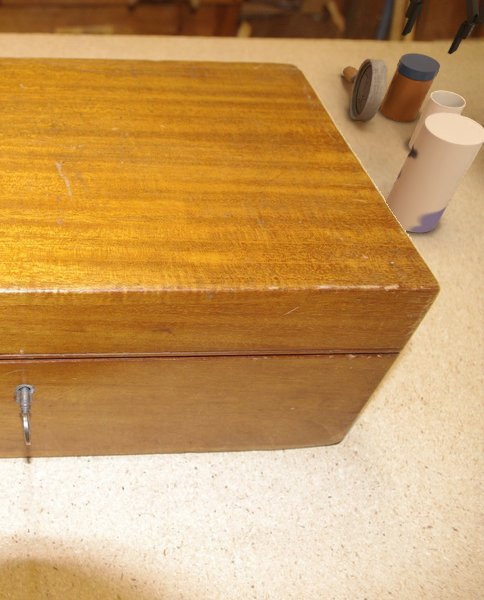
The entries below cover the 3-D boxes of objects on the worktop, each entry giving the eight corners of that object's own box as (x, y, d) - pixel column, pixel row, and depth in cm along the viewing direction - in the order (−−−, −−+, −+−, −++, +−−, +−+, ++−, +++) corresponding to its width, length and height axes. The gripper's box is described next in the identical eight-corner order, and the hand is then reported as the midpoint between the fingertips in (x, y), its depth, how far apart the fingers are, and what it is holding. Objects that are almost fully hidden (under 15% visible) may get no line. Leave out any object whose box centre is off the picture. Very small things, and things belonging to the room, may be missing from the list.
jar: (422, 113, 161) (445, 65, 152) (405, 125, 157) (428, 77, 149) (390, 98, 165) (411, 51, 156) (373, 111, 161) (393, 63, 153)
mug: (442, 160, 149) (468, 110, 140) (408, 155, 150) (433, 105, 141) (435, 133, 155) (460, 84, 146) (403, 129, 156) (426, 80, 147)
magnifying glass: (349, 43, 168) (377, 65, 146) (362, 44, 167) (392, 67, 146) (334, 97, 174) (359, 126, 153) (346, 98, 174) (373, 128, 153)
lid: (442, 72, 154) (446, 63, 152) (424, 84, 150) (429, 75, 148) (408, 58, 158) (411, 49, 156) (389, 70, 154) (393, 61, 152)
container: (385, 194, 140) (428, 106, 126) (438, 209, 137) (488, 120, 123) (378, 223, 134) (422, 134, 120) (434, 239, 131) (486, 150, 117)
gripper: (548, -57, 129) (488, 56, 145) (433, -91, 140) (389, 18, 156) (531, -46, 125) (471, 68, 142) (414, -82, 136) (371, 28, 153)
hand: (428, 42), depth 149 cm, fingers open, 10 cm apart
